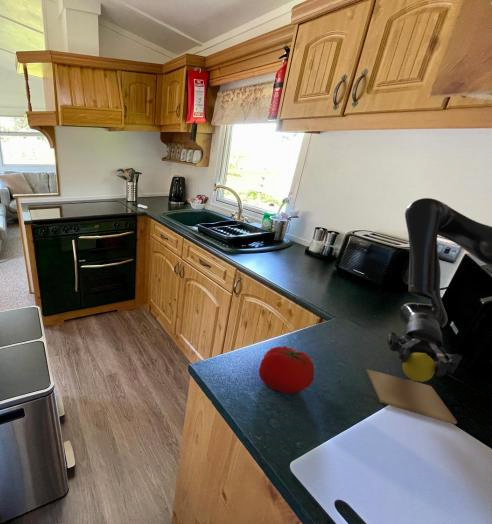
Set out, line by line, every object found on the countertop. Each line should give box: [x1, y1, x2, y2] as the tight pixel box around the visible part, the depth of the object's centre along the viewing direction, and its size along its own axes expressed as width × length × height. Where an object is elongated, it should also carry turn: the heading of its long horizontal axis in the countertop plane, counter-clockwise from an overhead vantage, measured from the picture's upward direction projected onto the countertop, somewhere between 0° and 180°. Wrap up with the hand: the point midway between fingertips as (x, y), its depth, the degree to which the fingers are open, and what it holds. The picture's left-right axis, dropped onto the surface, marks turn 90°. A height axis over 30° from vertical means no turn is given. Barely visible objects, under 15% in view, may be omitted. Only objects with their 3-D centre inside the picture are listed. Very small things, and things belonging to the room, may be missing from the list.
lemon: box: [401, 353, 436, 383], centre depth 69 cm, size 6×6×8 cm
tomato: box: [258, 344, 315, 394], centre depth 71 cm, size 11×13×10 cm
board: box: [365, 368, 458, 425], centre depth 72 cm, size 14×12×1 cm
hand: (421, 365), depth 67 cm, fingers closed on lemon, 5 cm apart
